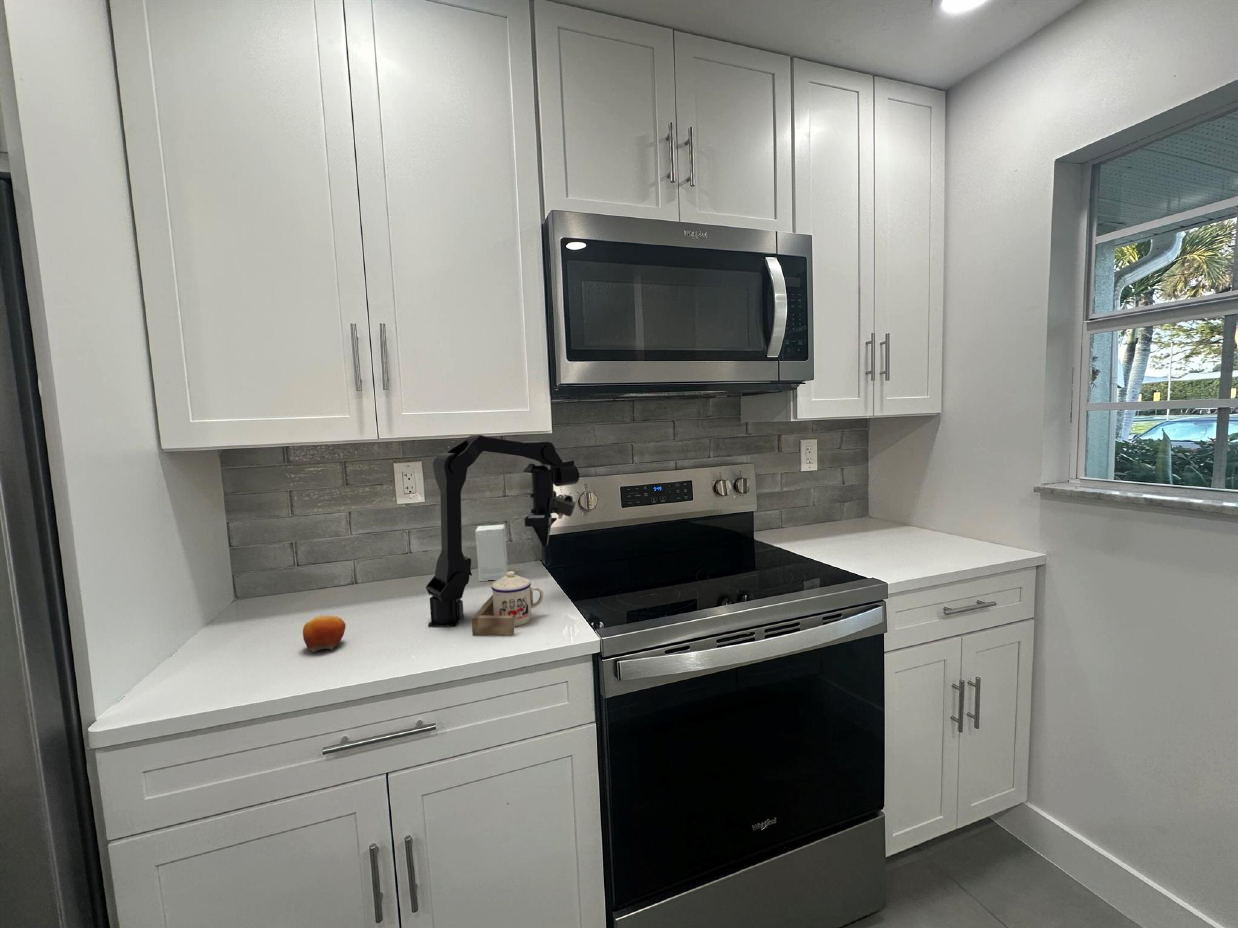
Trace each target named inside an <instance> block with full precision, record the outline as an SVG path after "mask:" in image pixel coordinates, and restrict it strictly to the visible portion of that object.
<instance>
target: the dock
mask: <svg viewBox="0 0 1238 928" xmlns="http://www.w3.org/2000/svg"><path fill="white" fill-rule="evenodd" d="M533 592H534V590H533V591H530V599H531V604H534V595H533ZM471 630H472V631H471V633H472V635H486V636H487V635H500V637H503V635H504V637H506V635H507V637H509V636H510V637H511V636H512V637H513V636H514V635H515V626H514V616H494V608H493V594H492V595H490V597H489V598H488V599H486V601H485V602H484V603H483V605H481V607H480V608H479V609H478V610H477V611H476V613H475V614H474V615H473V616H472V617H471ZM501 635H502V636H501ZM508 635H509V636H508ZM486 636H485V637H486Z"/></svg>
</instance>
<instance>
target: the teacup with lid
mask: <svg viewBox="0 0 1238 928" xmlns="http://www.w3.org/2000/svg"><path fill="white" fill-rule="evenodd" d="M531 585H532V583H531V581H530V579H528V578H526V577H523V576H519V575H518V574H516V572H515V571H513V570H512V571H509V570H508V572H507V573H506V576H504V577H503V578H501V579H499V580H494V581H493V583H492V585H491V590H492V595H493V608H494V616H514V627H518V626H523V625H525V624H527V623H529V622H530V621H531V619H532V609H535V608H537V607H538V606H539V605H541V604H542V601H543V599H544V591H543V590H542V589H541V588H540V587H538V586H531ZM530 591H533V592H534V591H537V592H539V597H538V599H537V601H536V602H535V603H533V604H531V599H530Z"/></svg>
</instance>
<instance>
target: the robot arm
mask: <svg viewBox="0 0 1238 928" xmlns="http://www.w3.org/2000/svg"><path fill="white" fill-rule="evenodd" d="M482 453H492V454H499V455H500V454H501V455H506V456H514V457H517V458H518V457H519V458H521V459H522V460H525V461H527V462H528V461H529V462H532V463H528V465H527V467H525V468H524V469H523V472H524V473H525V474H527V473H528V474H530V476H531V478H530V479H531V493H530V494H529V497H530V498H531V499H532V500H531V501H532V502H531V503H532V507H531V509H530V513H529V514H528V515H527V516H525V518H524V527H526V528H527V527H531V528H533V530H534V532H535V533H536V536H537V538H538V539H539V541H540V544H541V545H542V547H548V545H549V539H550V534H551V529H552V525H553V524H554V523H555V522H556V521H557V520H558V518H557V517H553V515H552V514H557V515H561V514H563V515H564V516H566V517H572V515H573V514H574V511H575V508H576V505H577V503H576V501H574V499H573V498H574V497H573V496H572V495H569V494H567V495H566V496H565V497H564V498H563V497H558V496H557V491H556V490H554V487H565V486H571V485H577V484H578V483H579V480H580V472H579V469H578V466H576V465H575V460H573V459H569V460H565V461H563V460H562V458H561V456H560V455H559V454H558V453H557V451H556V448H555V446H554V444H553V443H552V442H550V441H542V440H541V441H537V440H534V441H531V440H529V441H516V440H510V439H502V438H495V437H489V436H484V435H482V434H471V435H468V437H466V438H465V439H464V440H463V441H462V442H459V443H458V444H457V445H455V446H453V447H451V448H450V449H448V451H446V452H442V453H439V454H438V455H437V456H436V457H435V458H434V459H433V462H432V469H433V475H434V479H435V482H436V485H437V486H438V489H439V492H440V535H441V536H440V540H441V543H440V545H441V546H440V547H441V548H440V549H441V551H440V553H439V556H438V558H437V561H436V565H435V573H434V575H433V577H432V578H431V580H429V582H428V583H427V584H426V586H425V590H426V591H427V593H428V595H430V596H431V597H429V606H430V607H429V610H430V621H429V622H428V624H427V626H428V627H455V626H457V625H458V624H459V622H460V621H462V620H463V618H465V614H464V602H463V600H462V598H463V596H464V592H465V587H466V586H467V585H468V584H469V582H470V577H471V576H473V573H472V570H471V569H472V568H471V567H472V566H471V565H472V559H471V558H470V557H468V556H466V555H464V553H463V539H462V538H463V537H462V535H463V531H462V529H463V528H462V527H463V525H462V490H463V488H464V485H465V484H466V479H467V474H468V468H469V467H470V466H472V465H473V464H474V463H475V462H476V460H477V459H478V458H479V456H480V455H481V454H482ZM535 463H536V464H537V463H538V464H540V465H536V464H535ZM547 466H549V467H547Z"/></svg>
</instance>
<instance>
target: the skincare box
mask: <svg viewBox="0 0 1238 928" xmlns="http://www.w3.org/2000/svg"><path fill="white" fill-rule="evenodd" d="M505 526H506V525H505V524H492V525H491V524H490V525H477V528H476V529H475V530H474V532H475V545H476V547H475V548H476V556H477V570H478V581H482V582H489V581H488V580H494V581H497V580H499V579H501V578H503V577H504V576H506V573H507V572H509V568H508V567H509V565H508V553H507V552H508V551H507V550H508V549H507V538H506V527H505Z"/></svg>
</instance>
